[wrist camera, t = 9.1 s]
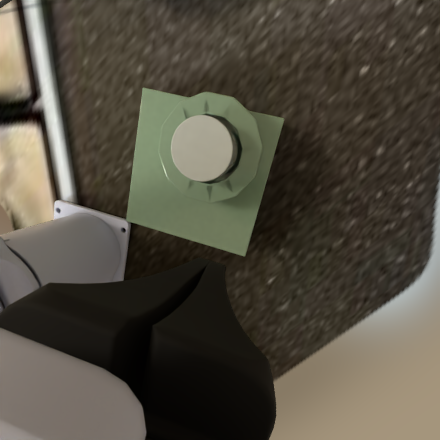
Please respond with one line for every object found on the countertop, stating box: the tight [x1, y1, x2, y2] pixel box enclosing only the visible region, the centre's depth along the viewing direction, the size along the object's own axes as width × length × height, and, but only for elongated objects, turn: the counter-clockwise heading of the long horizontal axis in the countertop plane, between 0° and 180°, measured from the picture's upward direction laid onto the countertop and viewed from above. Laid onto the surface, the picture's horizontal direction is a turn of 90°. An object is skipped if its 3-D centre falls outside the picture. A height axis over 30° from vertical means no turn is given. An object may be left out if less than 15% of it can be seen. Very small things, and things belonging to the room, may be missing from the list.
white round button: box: [171, 115, 238, 182], centre depth 15 cm, size 4×4×2 cm
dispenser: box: [126, 88, 284, 256], centre depth 18 cm, size 10×10×5 cm
